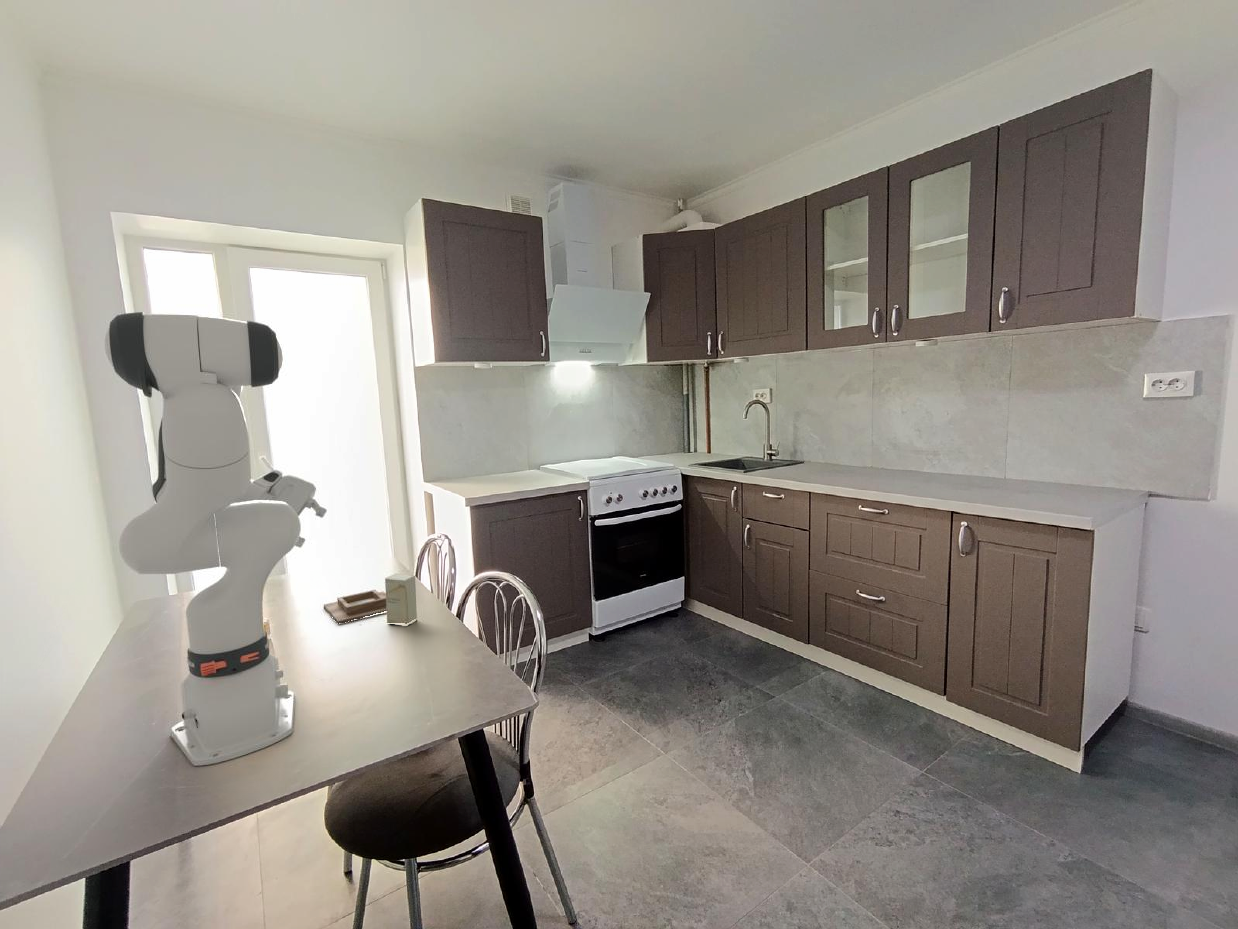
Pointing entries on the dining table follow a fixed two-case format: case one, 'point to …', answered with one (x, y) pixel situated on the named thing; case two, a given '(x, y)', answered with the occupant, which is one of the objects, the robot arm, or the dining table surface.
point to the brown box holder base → (357, 606)
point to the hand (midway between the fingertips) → (314, 528)
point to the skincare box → (400, 598)
